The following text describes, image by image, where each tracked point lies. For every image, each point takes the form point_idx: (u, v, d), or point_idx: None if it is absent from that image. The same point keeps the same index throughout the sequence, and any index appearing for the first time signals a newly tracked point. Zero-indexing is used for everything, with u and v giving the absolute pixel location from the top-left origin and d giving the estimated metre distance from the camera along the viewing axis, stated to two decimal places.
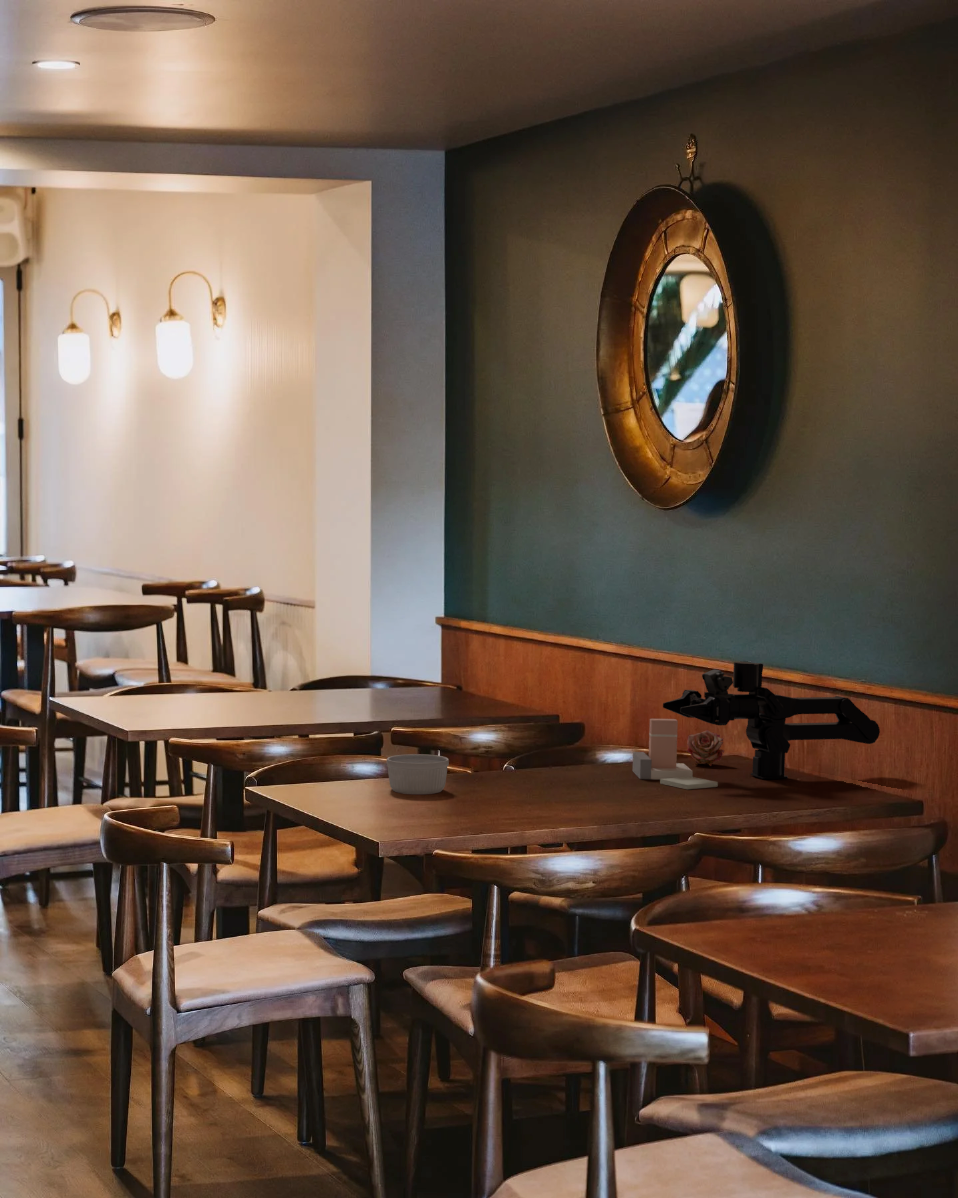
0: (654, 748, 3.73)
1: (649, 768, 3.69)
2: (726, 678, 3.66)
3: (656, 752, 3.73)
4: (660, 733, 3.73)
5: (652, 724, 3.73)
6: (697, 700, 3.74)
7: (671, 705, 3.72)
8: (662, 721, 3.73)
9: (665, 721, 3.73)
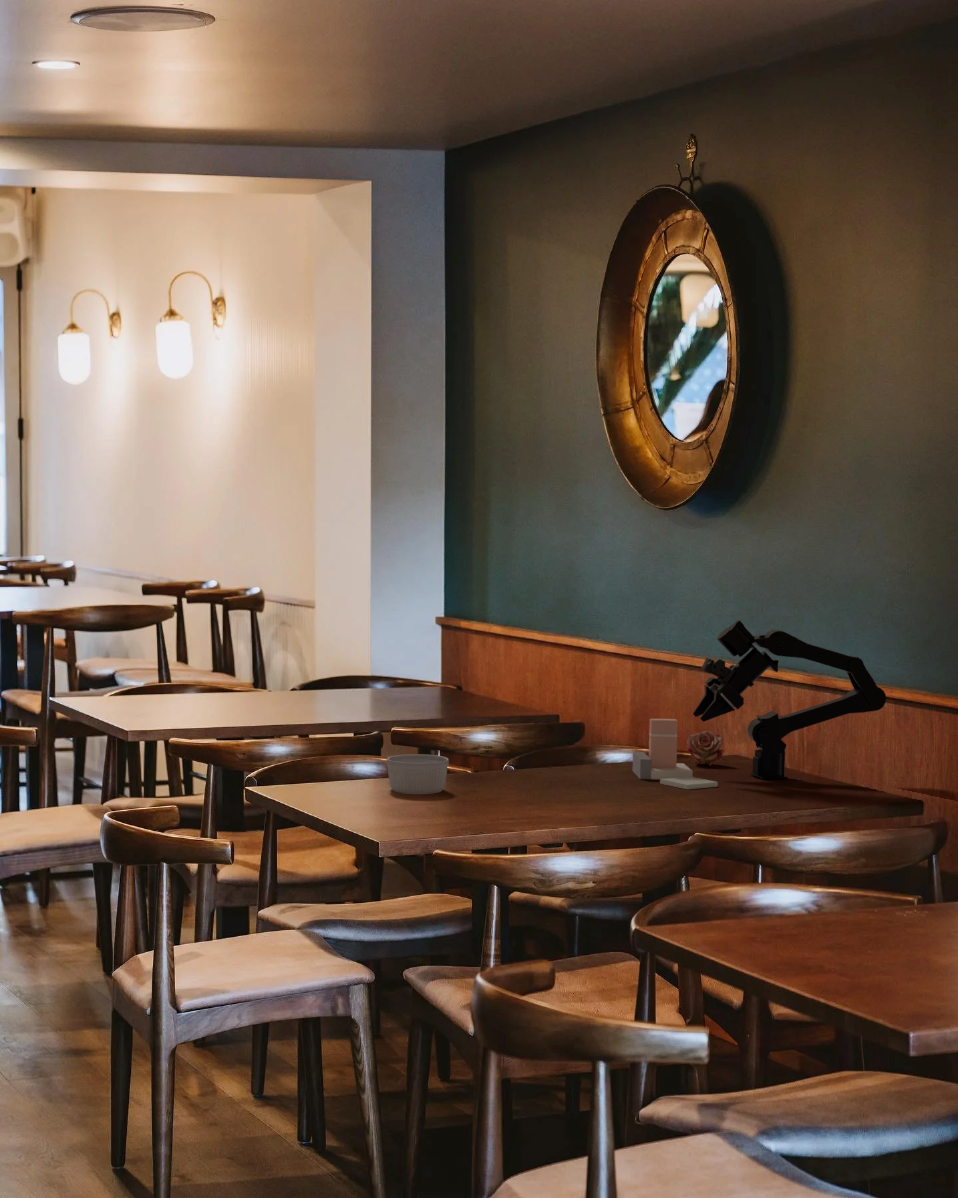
0: (654, 748, 3.73)
1: (649, 768, 3.69)
2: (716, 663, 3.70)
3: (656, 752, 3.73)
4: (660, 733, 3.73)
5: (652, 724, 3.73)
6: None
7: (700, 709, 3.79)
8: (662, 721, 3.73)
9: (665, 721, 3.73)
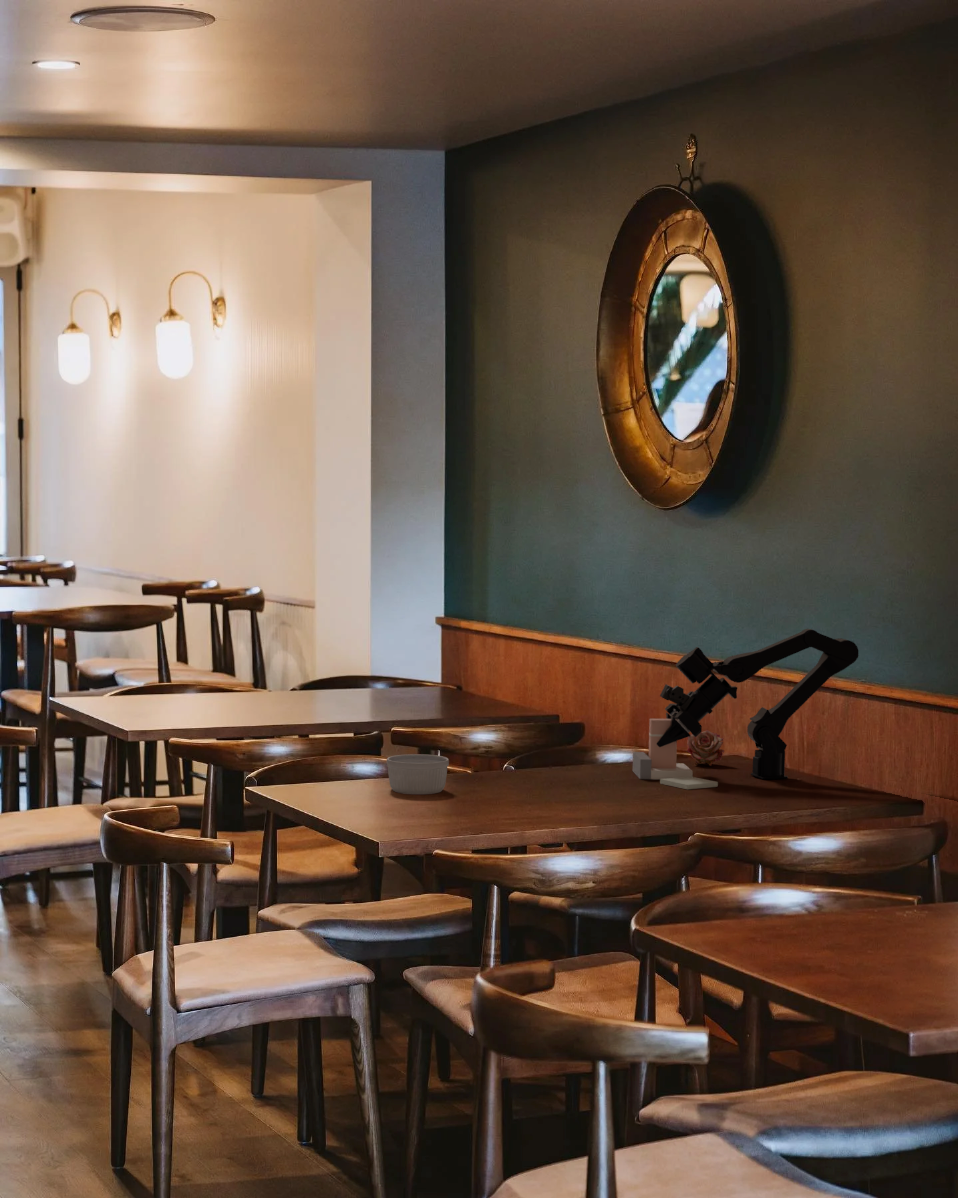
0: (654, 747, 3.73)
1: (649, 768, 3.69)
2: (674, 690, 3.70)
3: (656, 752, 3.73)
4: (660, 733, 3.73)
5: (652, 724, 3.73)
6: None
7: None
8: (662, 721, 3.73)
9: (665, 721, 3.73)
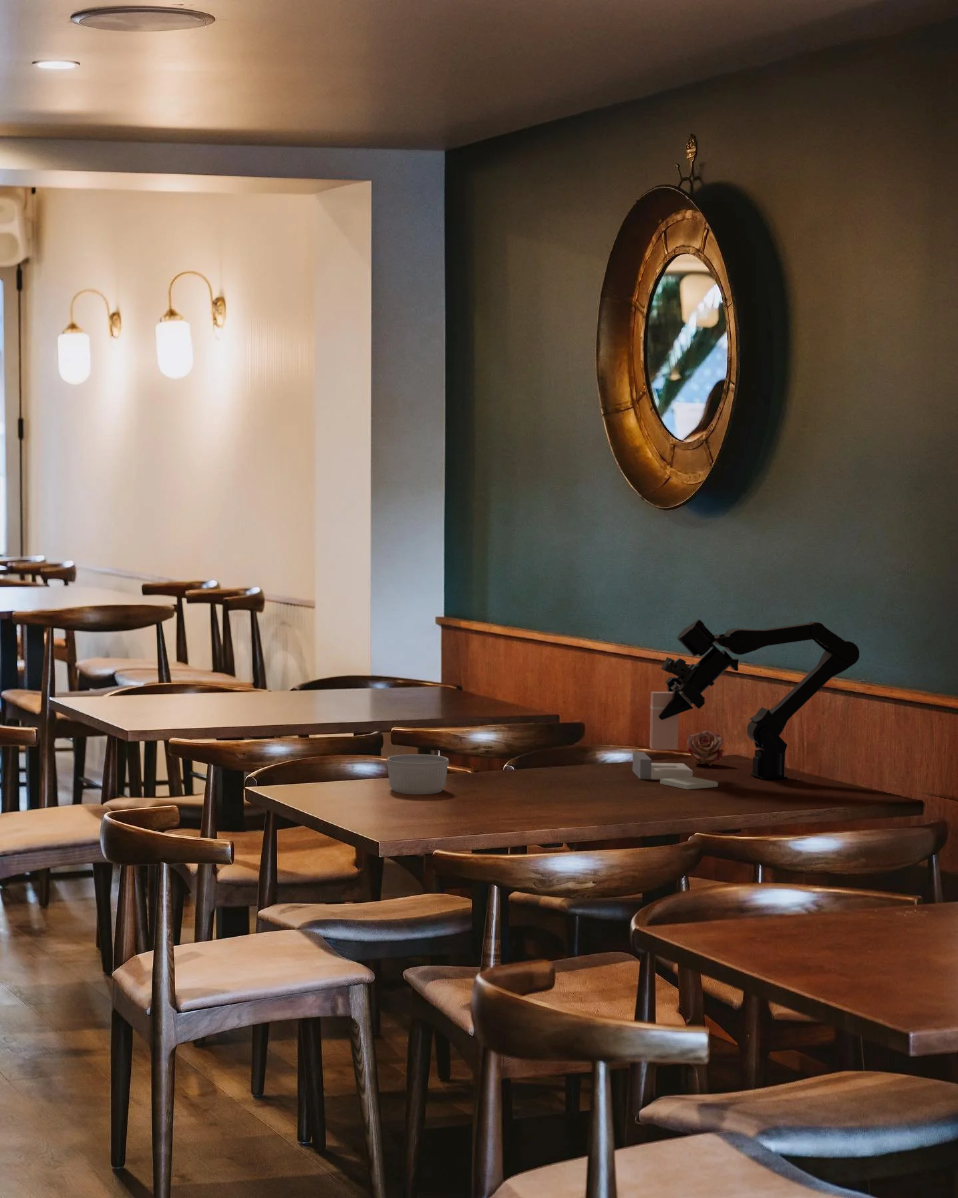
0: (656, 721, 3.72)
1: (649, 768, 3.69)
2: (677, 663, 3.69)
3: (658, 725, 3.72)
4: (662, 706, 3.71)
5: (654, 697, 3.71)
6: None
7: None
8: (664, 694, 3.71)
9: (667, 694, 3.71)
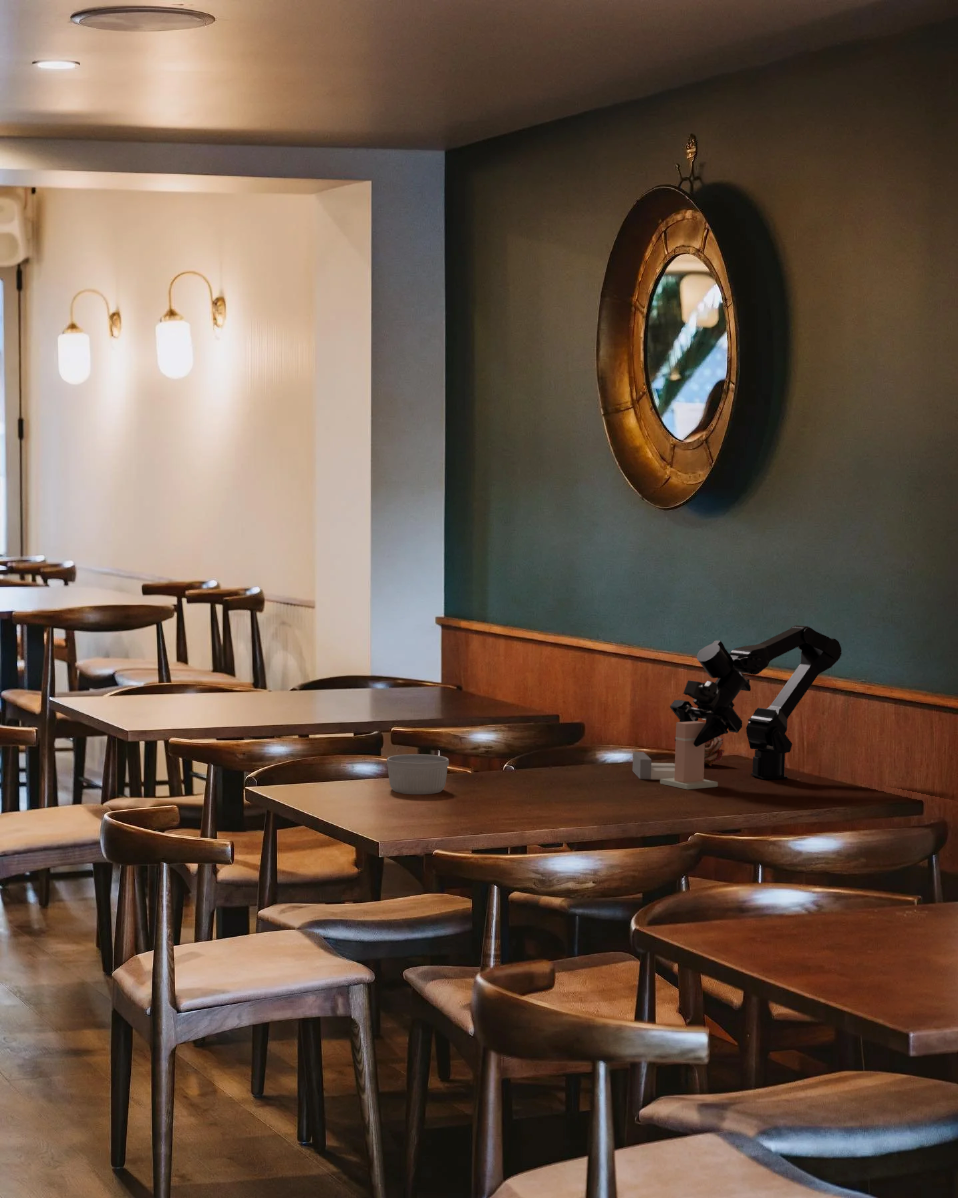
0: (687, 752, 3.59)
1: (649, 768, 3.69)
2: (710, 686, 3.58)
3: (688, 756, 3.59)
4: (692, 737, 3.59)
5: (685, 728, 3.58)
6: (690, 710, 3.67)
7: None
8: (693, 724, 3.59)
9: (696, 724, 3.60)
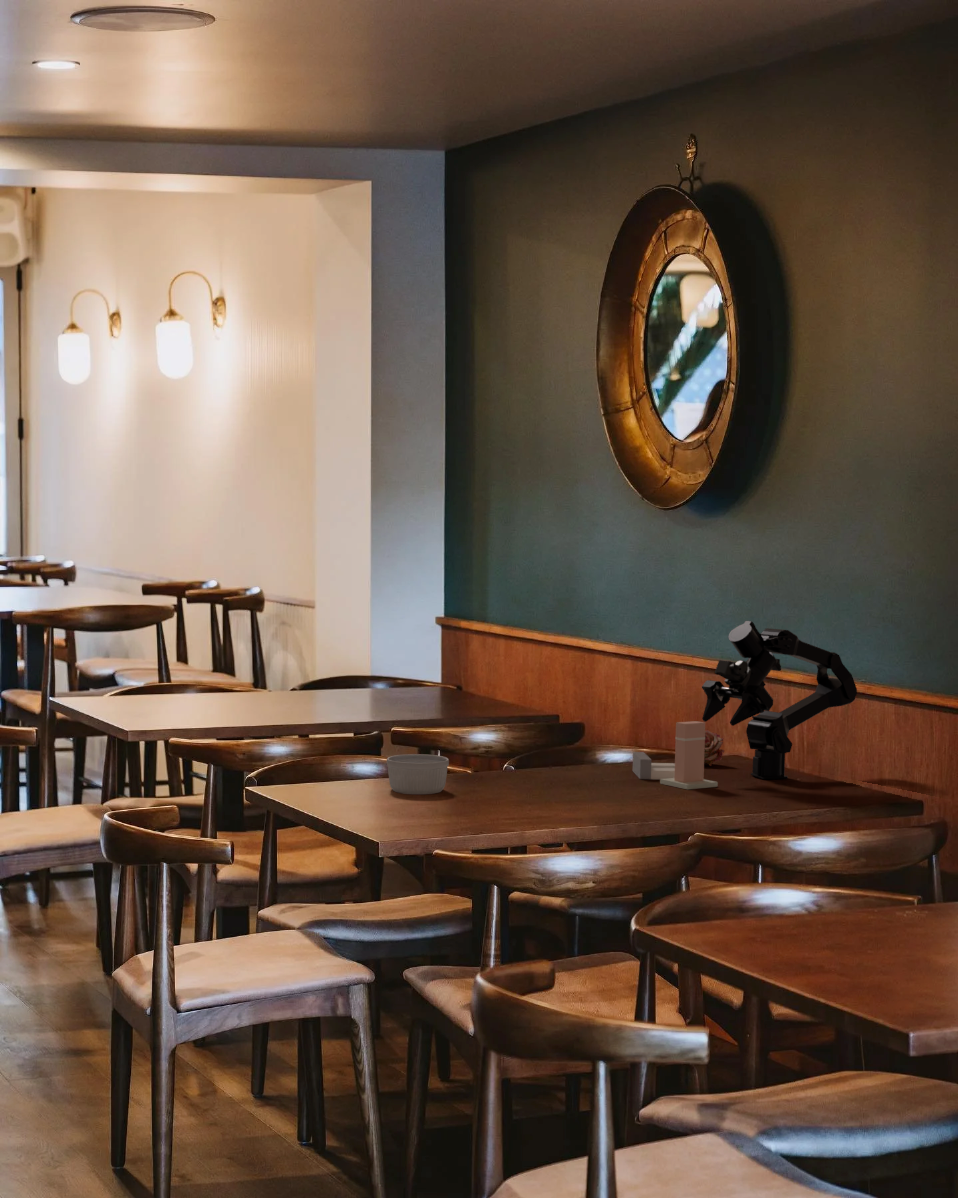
0: (687, 752, 3.59)
1: (649, 768, 3.69)
2: (741, 665, 3.63)
3: (688, 756, 3.59)
4: (691, 737, 3.59)
5: (685, 728, 3.58)
6: (722, 690, 3.72)
7: (709, 713, 3.70)
8: (693, 724, 3.59)
9: (695, 724, 3.60)
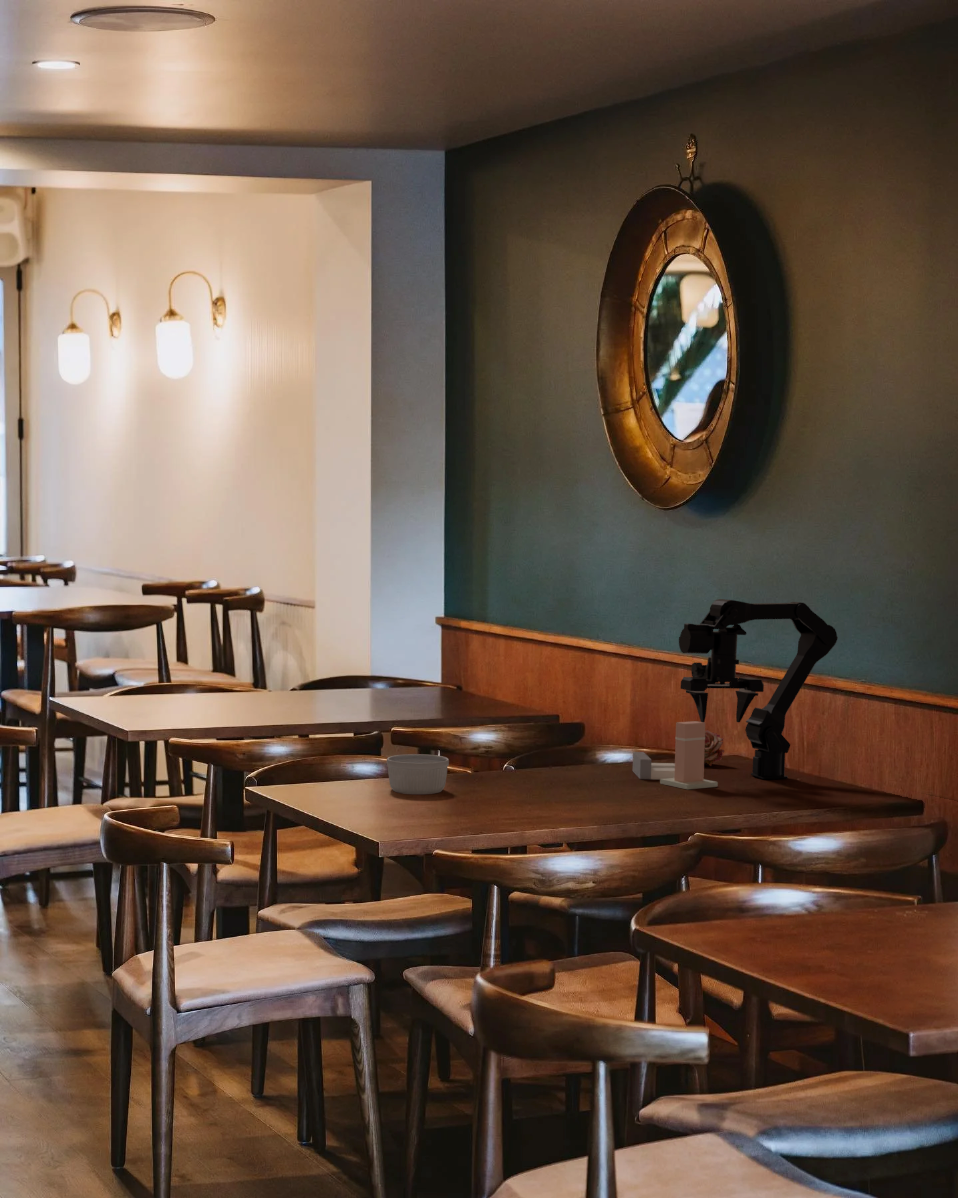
0: (687, 752, 3.59)
1: (649, 768, 3.69)
2: (692, 669, 3.76)
3: (688, 756, 3.59)
4: (691, 737, 3.59)
5: (685, 728, 3.58)
6: None
7: (738, 713, 3.72)
8: (693, 724, 3.59)
9: (695, 724, 3.60)
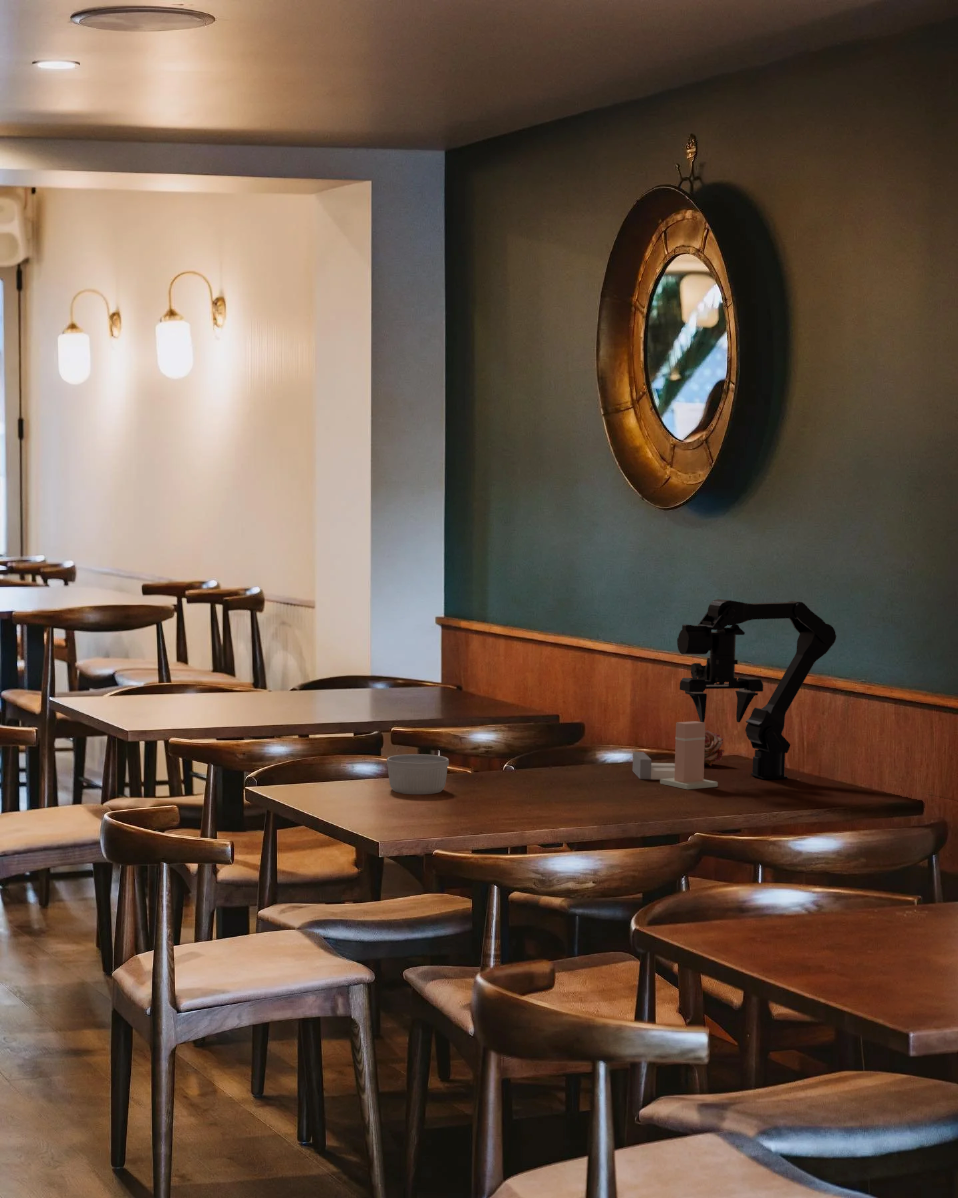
0: (687, 752, 3.59)
1: (649, 768, 3.69)
2: (691, 670, 3.76)
3: (688, 756, 3.59)
4: (691, 737, 3.59)
5: (685, 728, 3.58)
6: None
7: (738, 713, 3.72)
8: (693, 724, 3.59)
9: (695, 724, 3.60)
